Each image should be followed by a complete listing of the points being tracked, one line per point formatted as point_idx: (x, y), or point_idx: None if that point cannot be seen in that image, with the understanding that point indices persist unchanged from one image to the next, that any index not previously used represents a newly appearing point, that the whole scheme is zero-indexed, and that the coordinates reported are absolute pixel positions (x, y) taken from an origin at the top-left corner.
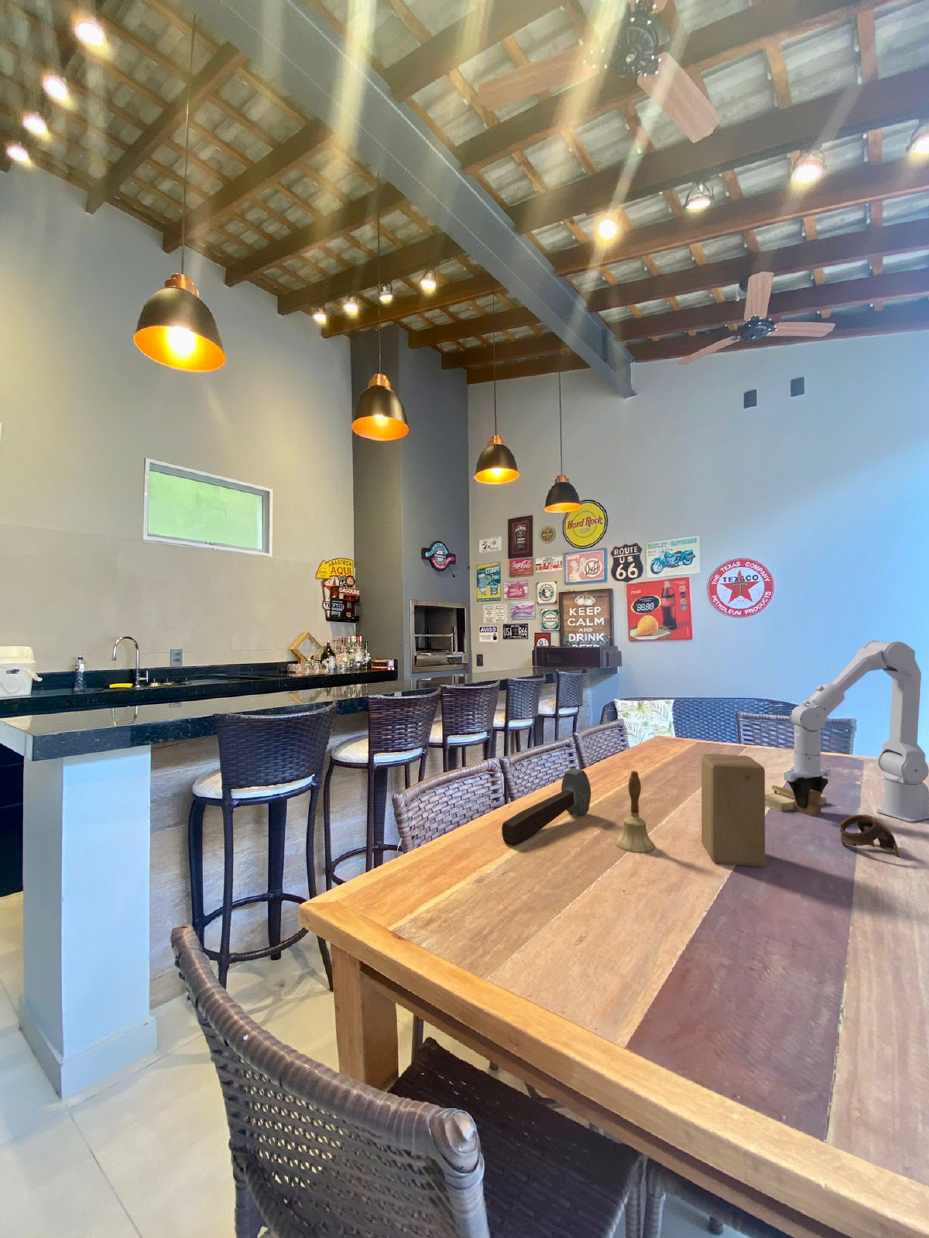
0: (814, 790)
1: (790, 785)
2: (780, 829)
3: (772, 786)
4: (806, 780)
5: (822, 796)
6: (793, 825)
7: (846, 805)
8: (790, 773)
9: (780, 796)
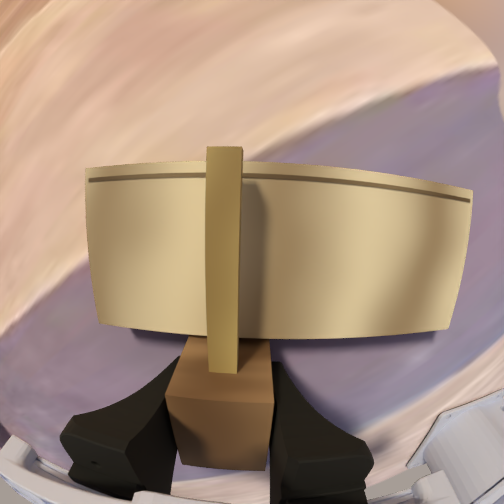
0: (265, 451)
1: (102, 412)
2: (27, 380)
3: (208, 153)
4: (282, 457)
5: (430, 328)
6: (69, 391)
7: (456, 348)
8: (23, 490)
9: (203, 233)
